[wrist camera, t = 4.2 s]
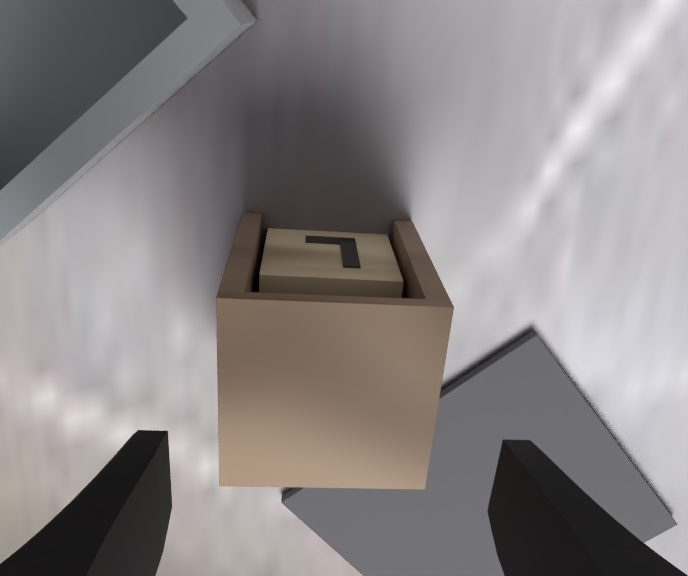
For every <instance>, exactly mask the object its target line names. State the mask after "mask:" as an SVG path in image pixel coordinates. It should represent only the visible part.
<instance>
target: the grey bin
mask: <svg viewBox="0 0 688 576" xmlns="http://www.w3.org/2000/svg"><path fill="white" fill-rule="evenodd" d="M257 20H258V19H257V18H256V17H255V15H254V14H253V13H252V12H251V10H250V9H249V8H248V6H247V5H246V4H245V3H244V1H243V0H0V246H1V245H2V244H4V243H5V242H6V241H7V240H9V239H10V238H11V237H13V236H14V235H15V234H16V233H18V232H19V231H20V230H21V229H23V228H24V227H25V226H26V225H27V224H28V223H30V222H31V221H32V220H33V219H34V218H35V217H36V216H37V215H39V214H40V213H41V212H42V211H43V210H44V209H45V208H47V207H48V206H49V205H50V204H51V203H52V202H53V201H54V200H56V199H57V198H58V197H59V196H60V195H61V194H62V193H63V192H65V191H66V190H67V189H68V188H69V187H70V186H71V185H72V184H74V183H75V182H76V181H77V180H78V179H79V178H80V177H81V176H83V175H84V174H85V173H86V172H87V171H88V170H89V169H90V168H92V167H93V166H94V165H95V164H96V163H97V162H98V161H100V160H101V159H102V158H103V157H104V156H105V155H106V154H107V153H109V152H110V151H111V150H112V149H113V148H114V147H115V146H116V145H118V144H119V143H120V142H121V141H122V140H123V139H124V138H125V137H127V136H128V135H129V134H130V133H131V132H132V131H133V130H134V129H136V128H137V127H138V126H139V125H140V124H141V123H142V122H143V121H145V120H146V119H147V118H148V117H149V116H150V115H151V114H152V113H154V112H155V111H156V110H157V109H158V108H159V107H160V106H162V105H163V104H164V103H165V102H166V101H167V100H168V99H169V98H171V97H172V96H173V95H174V94H175V93H176V92H177V91H178V90H180V89H181V88H182V87H183V86H184V85H185V84H186V83H187V82H189V81H190V80H191V79H192V78H193V77H194V76H195V75H196V74H198V73H199V72H200V71H201V70H202V69H203V68H204V67H205V66H207V65H208V64H209V63H210V62H211V61H212V60H213V59H215V58H216V57H217V56H218V55H219V54H220V53H221V52H222V51H224V50H225V49H226V48H227V47H228V46H229V45H230V44H231V43H233V42H234V41H235V40H236V39H237V38H238V37H239V36H240V35H242V34H243V33H244V32H245V31H246V30H247V29H248V28H249V27H251V26H252V25H253V24H254V23H255V22H256V21H257Z"/></svg>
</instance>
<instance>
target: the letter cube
mask: <svg viewBox="0 0 688 576" xmlns="http://www.w3.org/2000/svg"><path fill="white" fill-rule="evenodd" d="M402 290H403V279H402V276H401V273H400V270H399V267H398V264H397V261H396V258H395V255H394V252H393V250H392V247H391V244H390V241H389V238H388V235H387V234H369V233H350V232H331V231H312V230H293V229H274V228H268V230H267V236H266V241H265V247H264V252H263V258H262V263H261V269H260V274H259V292H260V293H284V294H309V295H334V296H358V297H383V298H402Z"/></svg>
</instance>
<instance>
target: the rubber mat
mask: <svg viewBox="0 0 688 576" xmlns="http://www.w3.org/2000/svg"><path fill="white" fill-rule="evenodd" d="M503 439H509V440H531V441H532V442H533V443H534V444H535V445H536V446H537V447H538V448H539V449H540V450H541V451H543V452H544V453H545V454H546V455H547V456H548V457H549V458H550V459H551V460H552V461H553V462H554V463H555V464H556V465H557V466H558V467H559V468H560V469H561V470H562V471H563V472H564V473H565V474H566V475H567V476H568V477H569V478H570V479H572V480H573V481H574V482H575V483H576V484H577V485H578V486H579V487H580V488H581V489H582V490H583V491H584V492H585V493H586V494H587V495H589V496H590V497H591V498H592V499H593V500H594V501H595V502H596V503H597V504H598V505H599V506H601V507H602V508H603V509H604V510H605V511H606V512H607V513H608V514H610V515H611V516H612V517H613V518H614V519H615V520H616V521H618V522H619V523H620V524H621V525H622V526H624V527H625V528H626V529H627V530H628V531H630V532H631V533H632V534H633V535H634V536H636V537H637V538H638V539H639V540H640V541H642V542H643V543H644V542H646V541H648V540H650V539H652V538H653V537H655V536H657V535H659V534H661V533H663V532H664V531H666V530H668V529H670V528H672V527H674V526H675V525H677V523H676V521H675V520H674V519H673V517H672V516H671V514H670V513H669V512H668V510H667V509H666V508H665V506H664V505H663V504H662V502H661V501H660V500H659V498H658V497H657V496H656V494H655V493H654V492H653V490H652V489H651V488H650V486H649V485H648V484H647V482H646V481H645V480H644V478H643V477H642V476H641V474H640V473H639V472H638V470H637V469H636V467H635V466H634V465H633V463H632V462H631V461H630V459H629V458H628V457H627V455H626V454H625V453H624V451H623V450H622V449H621V447H620V446H619V445H618V443H617V442H616V441H615V439H614V438H613V437H612V435H611V434H610V433H609V431H608V430H607V429H606V427H605V426H604V425H603V423H602V422H601V421H600V419H599V418H598V416H597V415H596V414H595V412H594V411H593V410H592V408H591V407H590V406H589V404H588V403H587V402H586V400H585V399H584V398H583V396H582V395H581V394H580V392H579V391H578V390H577V388H576V387H575V386H574V384H573V383H572V382H571V380H570V379H569V378H568V376H567V375H566V374H565V372H564V371H563V369H562V368H561V367H560V365H559V364H558V363H557V361H556V360H555V359H554V357H553V356H552V355H551V353H550V352H549V351H548V349H547V348H546V347H545V345H544V344H543V343H542V341H541V340H540V339H539V337H538V336H537V335H536V333H535V332H534V331H533V330H532V331H531V332H529V333H528V334H526V335H525V336H523V337H521V338H520V339H518V340H517V341H515V342H514V343H512V344H511V345H509V346H508V347H506V348H505V349H503V350H502V351H500V352H499V353H497V354H496V355H494V356H493V357H491V358H490V359H488V360H487V361H485V362H484V363H482V364H481V365H479V366H477V367H476V368H474V369H473V370H471V371H470V372H468V373H467V374H465V375H464V376H462V377H461V378H459V379H458V380H456V381H455V382H453V383H452V384H450V385H449V386H447V387H446V388H444V389H443V390H441V391H440V397H439V403H438V410H437V416H436V422H435V429H434V435H433V441H432V447H431V454H430V460H429V466H428V473H427V479H426V485H425V489H367V488H306V487H294V488H292V489H291V490H289V491H288V492H286V493H285V494H283V495H282V504H284V505H285V506H286V507H287V508H288V509H289V510H290V511H291V512H293V513H294V514H295V515H296V516H297V517H298V518H299V519H300V520H302V521H303V522H304V523H305V524H306V525H307V526H308V527H309V528H311V529H312V530H313V531H314V532H315V533H316V534H317V535H318V536H320V537H321V538H322V539H323V540H324V541H325V542H326V543H327V544H328V545H330V546H331V547H332V548H333V549H334V550H335V551H336V552H337V553H339V554H340V555H341V556H342V557H343V558H344V559H345V560H346V561H348V562H349V563H350V564H351V565H352V566H353V567H354V568H355V569H357V570H358V571H359V572H360V573H361V574H362V575H363V576H504V573H503V570H502V567H501V564H500V561H499V559H498V556H497V552H496V548H495V543H494V539H493V535H492V530H491V526H490V521H489V517H488V512H487V510H488V505H489V501H490V496H491V491H492V487H493V482H494V478H495V473H496V468H497V464H498V459H499V455H500V450H501V445H502V441H503Z"/></svg>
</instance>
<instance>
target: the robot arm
mask: <svg viewBox="0 0 688 576" xmlns="http://www.w3.org/2000/svg"><path fill="white" fill-rule="evenodd" d="M171 509H172V496H171V479H170V462H169V445H168V431H147V430H138V431H137V432H136V433H134V434H133V435H132V436H131V438H130V439H129V440H128V441H127V442H126V443H125V444H124V446H123V447H122V448H121V449H120V450H119V451H118V452H117V454H116V455H115V456H114V457H113V458H112V459H111V460H110V461H109V463H108V464H107V465H106V466H105V467H104V468H103V469H102V470H101V471H100V472H99V473H98V475H97V476H96V477H95V478H94V479H93V480H92V481H91V482H90V483H89V484H88V485H87V486H86V487H85V488H84V489H83V490H82V491H81V492H80V493H79V494H78V495H77V496H76V497H75V498H74V499H73V500H72V501H71V502H70V503H69V504H68V505H67V506H66V507H65V508H64V509H63V510H62V511H61V512H60V513H59V514H58V515H57V516H55V517H54V518H53V519H52V520H51V521H50V522H49V523H48V524H47V525H46V526H45V527H44V528H43V529H42V530H40V531H39V532H38V533H37V534H36V535H35V536H34V537H32V538H31V539H30V540H29V541H28V542H27V543H26V544H24V545H23V546H22V547H21V548H20V549H18V550H17V551H16V552H15V553H14V554H12V555H11V556H10V557H9V558H7V559H6V560H5V561H4V562H2V563H1V564H0V576H155V575H156V572H157V569H158V566H159V562H160V559H161V556H162V553H163V549H164V544H165V539H166V534H167V529H168V524H169V519H170V514H171ZM487 512H488V517H489V521H490V526H491V530H492V535H493V539H494V543H495V548H496V552H497V556H498V559H499V561H500V564H501V567H502V570H503V573H504V576H687V575H686V574H685V573H683V572H682V571H680V570H679V569H678V568H676V567H675V566H674V565H672V564H671V563H669V562H668V561H667V560H665V559H664V558H663V557H661V556H660V555H658V554H657V553H656V552H655V551H653V550H652V549H651V548H649V547H648V546H647V545H646V544H644V543H643V542H642V541H640V540H639V539H638V538H637V537H636V536H634V535H633V534H632V533H631V532H630V531H628V530H627V529H626V528H625V527H624V526H622V525H621V524H620V523H619V522H618V521H616V520H615V519H614V518H613V517H612V516H611V515H610V514H608V513H607V512H606V511H605V510H604V509H603V508H602V507H601V506H599V505H598V504H597V503H596V502H595V501H594V500H593V499H592V498H591V497H590V496H589V495H587V494H586V493H585V492H584V491H583V490H582V489H581V488H580V487H579V486H578V485H577V484H576V483H575V482H574V481H573V480H572V479H570V478H569V477H568V476H567V475H566V474H565V473H564V472H563V471H562V470H561V469H560V468H559V467H558V466H557V465H556V464H555V463H554V462H553V461H552V460H551V459H550V458H549V457H548V456H547V455H546V454H545V453H544V452H543V451H541V450H540V449H539V448H538V447H537V446H536V445H535V444H534V443H533V442H532V441H531V440H509V439H503V441H502V445H501V450H500V455H499V459H498V464H497V468H496V473H495V478H494V482H493V487H492V491H491V496H490V501H489V505H488V510H487Z"/></svg>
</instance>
